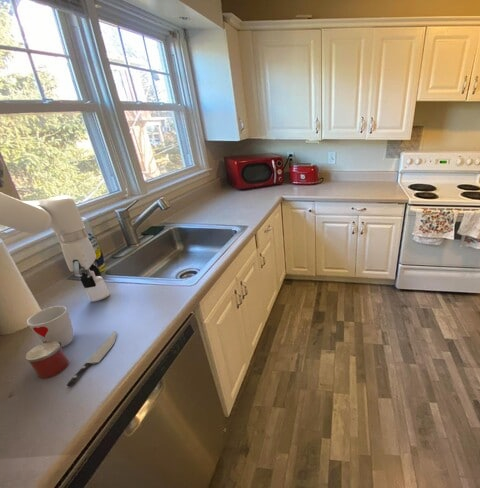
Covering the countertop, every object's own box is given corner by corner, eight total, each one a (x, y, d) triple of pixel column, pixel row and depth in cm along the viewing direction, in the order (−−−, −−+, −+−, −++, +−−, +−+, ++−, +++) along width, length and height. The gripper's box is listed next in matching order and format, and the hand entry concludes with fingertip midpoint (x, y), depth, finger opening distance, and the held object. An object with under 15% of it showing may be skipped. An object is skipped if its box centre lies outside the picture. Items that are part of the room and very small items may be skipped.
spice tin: (32, 381, 69) (20, 363, 67) (44, 363, 75) (33, 344, 72) (63, 373, 72) (52, 355, 69) (73, 356, 77) (63, 338, 74)
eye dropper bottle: (107, 299, 100) (95, 270, 94) (88, 303, 98) (75, 274, 93) (111, 292, 103) (99, 264, 98) (92, 296, 101) (79, 267, 96)
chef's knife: (125, 331, 85) (115, 331, 85) (124, 328, 85) (114, 328, 84) (79, 387, 68) (66, 387, 68) (77, 384, 67) (64, 384, 67)
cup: (36, 348, 79) (19, 321, 75) (68, 329, 86) (54, 303, 82) (55, 356, 77) (38, 328, 72) (86, 335, 84) (73, 309, 79)
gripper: (68, 227, 96) (88, 272, 104) (45, 247, 81) (70, 298, 89) (95, 224, 98) (112, 268, 106) (76, 243, 84) (98, 293, 92)
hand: (93, 281), depth 98 cm, fingers open, 5 cm apart
